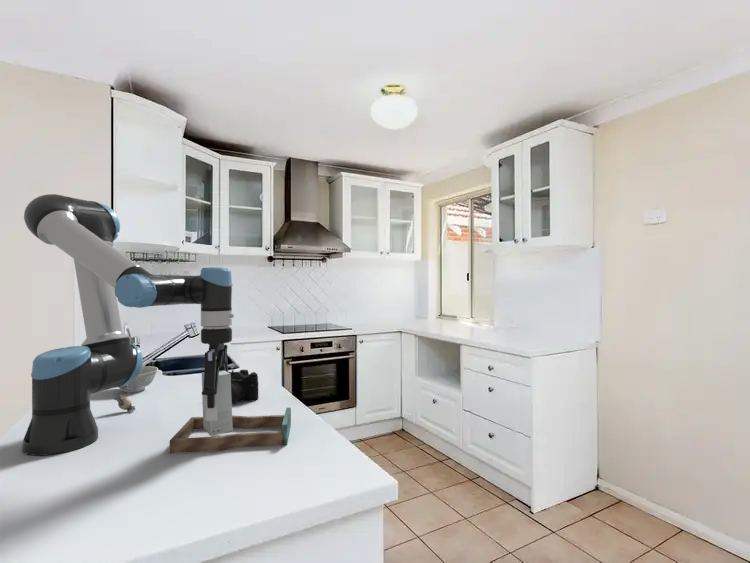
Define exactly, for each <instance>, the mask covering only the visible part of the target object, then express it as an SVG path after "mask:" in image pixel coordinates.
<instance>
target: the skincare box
mask: <svg viewBox="0 0 750 563" xmlns="http://www.w3.org/2000/svg"><path fill="white" fill-rule="evenodd" d="M228 372H229V371H228ZM228 372H226V371H224V370H219V375H218V384H217V393H218V420H217V421H206V395H202V394H201V396H202V417H203V428H204V429H203V430H205V431H206V433H207V434H208V435H209V437H214V436H216V435H223V434H229V433H233V431H234V428H233V423H232V416H233V403H232V399H231V374H230V373H228ZM203 385H204V372H201V393H202V392H203ZM209 389H212V388H209Z"/></svg>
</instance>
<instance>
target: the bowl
mask: <svg viewBox="0 0 750 563" xmlns="http://www.w3.org/2000/svg"><path fill="white" fill-rule="evenodd" d="M158 370H159V368H158V367H157V366H151V365H150V366H148V365H147V366H146V365H142V369H141V371H140V373H139V374H138V376H137V377H136V379H134V380H133V381H132V382H130V383H127V384H125V385H123V386H121V387H118V388H119V389H121V390H122V392H124V393H137V392H142V391H144V390H145V389H146V387H148V386H150V384H152V382H153V381H154V379H155V377H156V374H157V372H158Z"/></svg>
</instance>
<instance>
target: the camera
mask: <svg viewBox="0 0 750 563" xmlns="http://www.w3.org/2000/svg"><path fill="white" fill-rule="evenodd" d="M256 372H257V371H256ZM256 372H255V371H254V372H253V371H252V372H250V373H249V370H248V369H240V370H239V371H234V369H232V370H231V371H228V373H230V374H231V399H232V404H235V403H237V402H245V401H249V402H250V401H251V402H256V400H257V401H258V400H259V376H258V373H256Z"/></svg>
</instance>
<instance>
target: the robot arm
mask: <svg viewBox="0 0 750 563" xmlns="http://www.w3.org/2000/svg"><path fill="white" fill-rule="evenodd" d="M23 219H24V223H25V225H26V228H27V229H28V231H30V233H32V235H33V236H35V237H36V238H38V239H39V240H40V241H41V242H43V243H45V244H47V245H51V246H53V245H54V246H56V247H57V248H58V249H60V250H61V251H62V252H64V253H65V254H66V255H68V256H70V257H71V258H72V259H73V262H74V264H73V265H74V268H75V269H74V270H75V276H76V282H77V287H78V288H77V289H78V294H79V299H80V306H81V311H82V318H83V323H84V329H85V336H86V338H85V340H84V341H83V342H82V343H81V344H80V345H73V346H67V347H60V348H54V349H50V350H47V351H44V352H42V353H40V354H38V355H36V357H35V358H34V359H33V361H32V365H31V366H32V369H31V373H30V377H31V418H30V422H29V423H28V427H27V430H26V431H25V435H24V437H23V440H22V452H23V454H25V453H27V454H26V455H29V454H34V455H33V456H47V455H46V454H49V455H55V454H56V453H57V454H62V453H65V452H66V453H67V452H70V451H74V450H78V449H81V448H84V447H86V446H89V445H90V444H93V443H95V442H96V441H97V440H98V439H99V428H98V425H97V422H96V419H95V417H94V415H93V412H92V410H91V395H92V394H93V395H94V394H96V393H100V392H103V391H106V390H110V389H115V388H119V387H121V386H123V385H125V384H127V383H130V382H132V381H133V380H134V379H136V377H137V376H138V374H139V373H140V371H141V369H142V366H144V365H143V364H144V358H143V352H142V351H141V349H140V348H138V346H137V344H133V343H131V339H130V335H128V334H126V333H125V332H123V328H122V323H121V316H120V311H119V310H120V309H119V305H118V303H119V304H120V305H122V306H124V307H127V308H140V309H142V308H148V307H158V306H175V305H200V326H201V327H202V328H201V330H200V342H201V343H202V344H205V345H208V350H207V351H206V352H205V353H204V369H203V370H204V385H203V392H202V391H201V396H202V395H206V421H217V420H218V393H217V384H218V375H219V370H224V371H226V372H229V363H228V345H227V343H228V344H229V343H231V342H232V341H233V328H232V327H230V326H232V321H233V320H232V319H233V318H234V317H235V315H234V313H233V312H232V310H233V309H232V308H233V307H232V295H233V294H232V293H233V292H232V291H233V283H232V281H233V280H232V270H231V269H230V268H227V267H218V266H217V267H214V266H213V267H211V266H210V267H202V268H201V269H200V274H199V275H180V274H179V275H178V274H177V275H174V274H171V275H170V274H169V275H165V274H161V275H160V274H152V273H151V272H149V271H147V270H146V269H145V268H143V267H141V266H140V265H139V264H137V263H136V262H134V261H133V260H132V259H131V258H129V257H127V256H126V255H125V254H123V253H122V252H121V251H119V250H117V249H116V248H115V247H114V241H115V240H116V239H118V237H119V234H118V233H120V230H121V224H120V223H121V222H120V219H119V216H118V215H117V213H116V212H115V210H113V209H112V208H111V207H110V206H108V205H106V204H104V203H103V204H102V203H100V202H97V201H92V200H85V199H80V198H76V197H71V196H66V195H62V194H56V193H55V194H53V193H51V194H49V193H48V194H43V195H39V196H38V197H35V198H33V199H32V200H31V201H30V202H29V203H28V204H27V206H26V207H25V209H24V214H23ZM209 388H212V389H209ZM44 454H45V455H44Z"/></svg>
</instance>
